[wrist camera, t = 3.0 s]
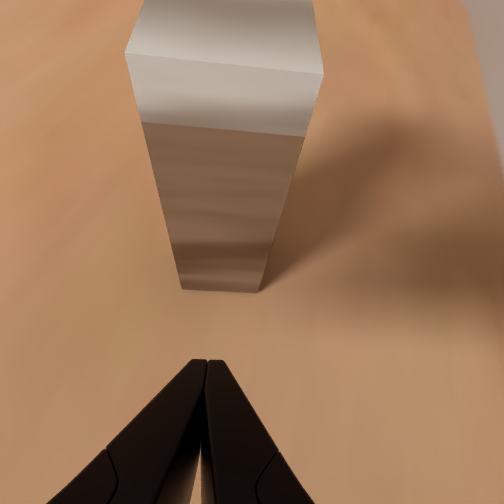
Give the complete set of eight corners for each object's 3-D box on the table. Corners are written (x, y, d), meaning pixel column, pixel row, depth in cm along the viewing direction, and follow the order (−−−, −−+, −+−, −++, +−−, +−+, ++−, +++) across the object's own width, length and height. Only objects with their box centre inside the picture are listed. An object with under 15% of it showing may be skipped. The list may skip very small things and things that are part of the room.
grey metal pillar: (257, 293, 21) (323, 74, 8) (181, 289, 21) (124, 52, 8) (258, 230, 24) (309, -15, 11) (190, 225, 23) (157, -35, 10)
